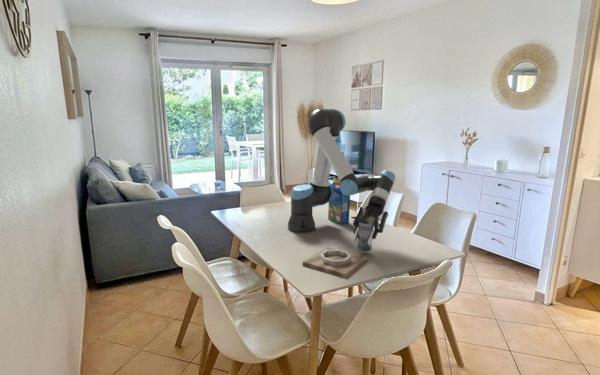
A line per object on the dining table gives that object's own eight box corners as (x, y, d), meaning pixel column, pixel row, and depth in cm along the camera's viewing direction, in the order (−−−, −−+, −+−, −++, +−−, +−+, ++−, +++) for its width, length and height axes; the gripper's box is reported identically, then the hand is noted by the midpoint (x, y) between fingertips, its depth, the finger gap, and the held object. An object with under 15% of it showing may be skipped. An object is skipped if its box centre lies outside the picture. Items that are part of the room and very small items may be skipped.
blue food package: (336, 217, 216) (337, 177, 211) (349, 222, 206) (350, 180, 201) (327, 219, 213) (329, 178, 208) (340, 224, 203) (342, 181, 198)
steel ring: (315, 260, 149) (315, 256, 149) (330, 251, 159) (330, 247, 158) (341, 267, 142) (341, 263, 142) (354, 258, 152) (354, 253, 152)
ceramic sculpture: (380, 210, 200) (353, 212, 200) (380, 225, 202) (354, 226, 202) (375, 205, 211) (350, 207, 211) (375, 220, 213) (351, 221, 212)
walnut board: (302, 264, 148) (302, 261, 148) (326, 250, 164) (326, 247, 164) (345, 277, 137) (345, 274, 137) (366, 260, 153) (367, 257, 153)
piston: (354, 249, 160) (356, 223, 158) (360, 244, 166) (362, 220, 163) (368, 252, 157) (369, 226, 154) (373, 248, 162) (375, 222, 159)
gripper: (400, 207, 165) (384, 251, 155) (361, 200, 175) (344, 241, 165) (397, 198, 159) (380, 243, 149) (357, 192, 170) (339, 233, 160)
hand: (361, 242), depth 157 cm, fingers closed on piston, 6 cm apart
